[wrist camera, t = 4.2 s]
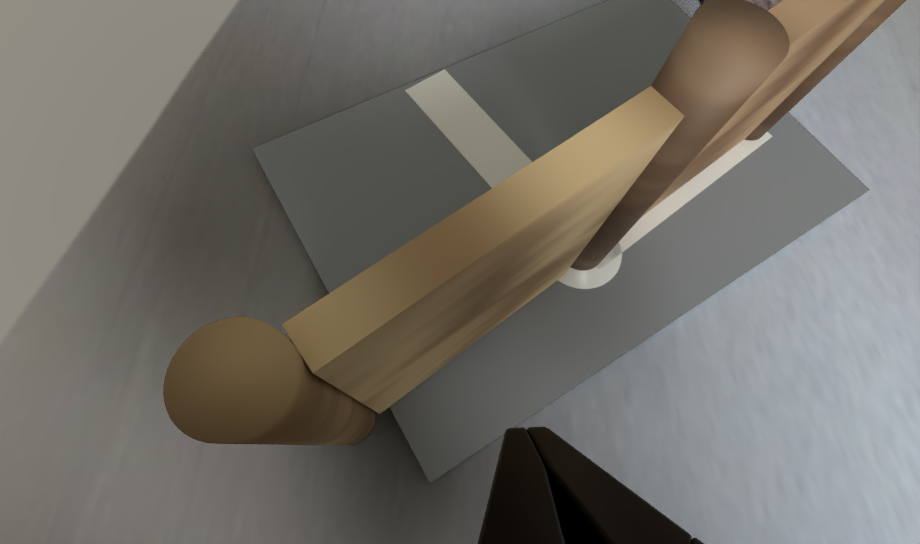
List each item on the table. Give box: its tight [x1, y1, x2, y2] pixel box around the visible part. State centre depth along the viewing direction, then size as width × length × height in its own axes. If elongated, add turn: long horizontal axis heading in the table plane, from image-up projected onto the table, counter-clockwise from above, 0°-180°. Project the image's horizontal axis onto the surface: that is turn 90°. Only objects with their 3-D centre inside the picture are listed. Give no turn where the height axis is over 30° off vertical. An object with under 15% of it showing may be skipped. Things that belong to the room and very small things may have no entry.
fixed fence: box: [570, 0, 906, 271], centre depth 16 cm, size 13×2×11 cm, turn 127°
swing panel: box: [163, 86, 684, 445], centre depth 12 cm, size 11×2×10 cm, turn 127°
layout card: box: [252, 0, 869, 483], centre depth 21 cm, size 16×24×1 cm, turn 121°
